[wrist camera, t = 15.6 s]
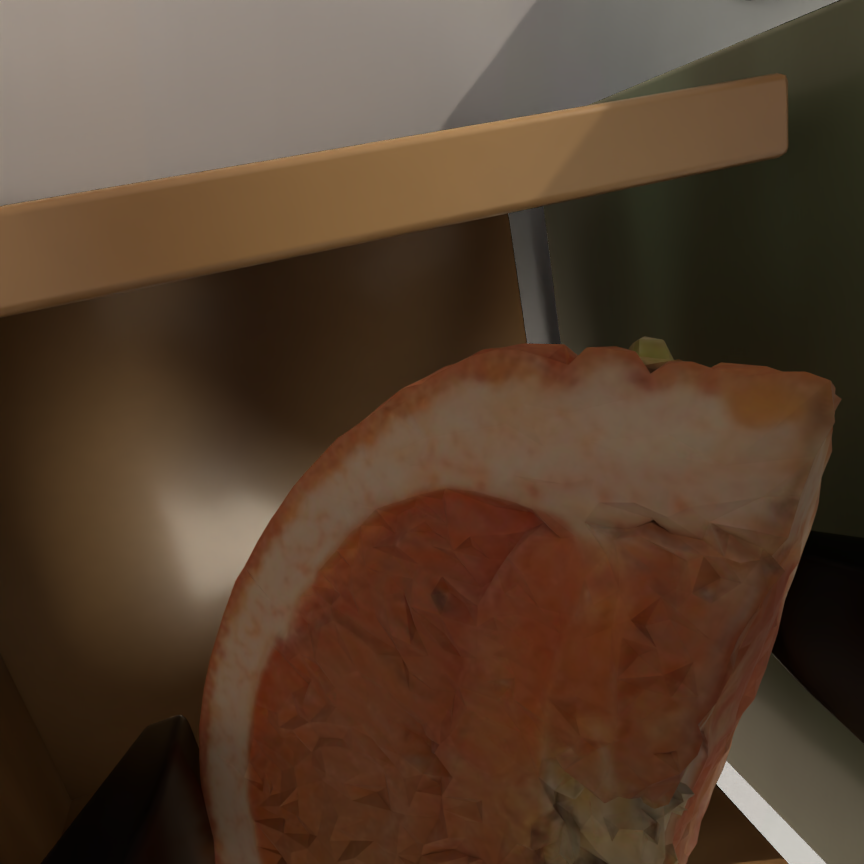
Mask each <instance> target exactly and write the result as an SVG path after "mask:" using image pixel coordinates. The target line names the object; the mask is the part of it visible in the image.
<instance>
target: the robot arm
mask: <svg viewBox="0 0 864 864" xmlns="http://www.w3.org/2000/svg"><path fill="white" fill-rule="evenodd" d="M771 653H772V654H773V655H774V656H775V657H776V659H777V660H778V661H779V662H780V663H781V664H782V665H783V666H784V668H785V669H786V670H787V671H788V672H789V673H790V674H791V675H792V676H793V677H794V678H795V679H796V680H797V681H798V682H799V683H800V684H801V685H802V686H803V687H804V688H805V689H806V690H807V691H808V692H809V693H810V694H811V695H812V696H813V697H814V698H815V699H816V700H817V701H818V702H819V703H820V704H821V705H822V706H823V707H825V708H826V709H827V710H828V711H829V712H830V713H831V714H832V715H833V716H834V717H835V718H836V719H837V720H838V721H839V722H841V723H842V724H843V725H844V726H845V727H846V728H847V729H848V730H849V731H850V732H851V733H852V734H853V735H854V736H855V737H856V738H858V739H859V740H860V741H861V742H862V743H863V744H864V538H862V537H855V536H848V535H841V534H834V533H826V532H819V531H812V530H811V531H810V533H809V536H808V539H807V541H806V544H805V546H804V549H803V552H802V555H801V558H800V561H799V564H798V567H797V570H796V573H795V575H794V578H793V581H792V583H791V586H790V588H789V591H788V593H787V596H786V599H785V602H784V607H783V611H782V616H781V620H780V625H779V629H778V634H777V637H776V639H775V642H774V645H773V648H772V651H771ZM40 864H215V850H214V839H213V835H212V831H211V826H210V822H209V818H208V814H207V810H206V806H205V801H204V797H203V792H202V788H201V780H200V762H199V747H198V744H197V742H196V739H195V737H194V734H193V732H192V729H191V726H190V724H189V722H188V720H187V719H186V718H185V717H184V716H183V715H176V716H173V717H170V718H167V719H164V720H162V721H159V722H156V723H153V724H150V725H148V726H147V727H146V728H145V729H144V730H143V731H142V732H141V734H140V735H139V736H138V738H137V739H136V740H135V742H134V743H133V744H132V745H131V747H130V748H129V749H128V751H127V752H126V753H125V754H124V756H123V757H122V758H121V760H120V761H119V762H118V764H117V765H116V766H115V767H114V769H113V770H112V771H111V773H110V774H109V775H108V777H107V778H106V779H105V780H104V782H103V783H102V784H101V786H100V787H99V788H98V789H97V791H96V792H95V793H94V795H93V796H92V797H91V799H90V800H89V801H88V802H87V804H86V805H85V806H84V808H83V809H82V810H81V812H80V813H79V814H78V815H77V817H76V818H75V819H74V821H73V822H72V823H71V824H70V826H69V827H68V828H67V830H66V831H65V832H64V834H63V835H62V836H61V837H60V839H59V840H58V841H57V843H56V844H55V845H54V847H53V848H52V849H51V850H50V852H49V853H48V854H47V856H46V857H45V858H44V859H43V861H42V862H41V863H40Z"/></svg>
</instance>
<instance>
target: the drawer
mask: <svg viewBox="0 0 864 864" xmlns="http://www.w3.org/2000/svg"><path fill="white" fill-rule="evenodd" d="M541 206H543V207H544V215H545V223H546V231H547V239H548V247H549V254H550V262H551V270H552V278H553V286H554V294H555V302H556V310H557V318H558V325H559V333H560V341H561V344H565V345H566V346H567V347H568V348H570V349H571V350H572V351H573V352H574V353H576V354H577V355H579V354H580V353H581V352H582V351H583V350H584V349H586V348H587V347H611V346H617V347H621V348H624V349H628V350H629V347H630V346H631V345H632V344H633V343H634V342H635V341H637V340H639V339H641V338H642V337H644V336H646V337H651V338H656V339H662V340H664V341H665V343H666V345H667V347H668V349H669V351H670V353H671V355H672V357H673V359H674V360H677V359H680V360H682V361H687V362H695V363H698V364H701V365H704V366H707V367H710V368H711V367H713V366H715V365H717V364H719V363H721V362H722V363H733V364H745V365H757V366H767V367H770V368H773V369H776V370H779V371H782V372H808V373H811V374H814V375H817V376H820V377H822V378H825V379H828V380H831V382H832V383H833V385H834V386H835V388H836V389H835V394H836V395H837V396H838V397H840V398H841V401H840V403H839V405H838V407H837V408H836V410H835V414H834V417H835V423H834V425H833V432H832V453H831V455H830V458H829V460H828V463H827V465H826V467H825V470H824V472H823V475H822V478H821V487H820V495H819V503H818V508H817V511H816V515H815V518H814V521H813V524H812V527H811V530H812V531H819V532H826V533H834V534H841V535H848V536H855V537H862V538H864V0H839V1H837V2H834V3H832V4H829V5H827V6H825V7H822V8H820V9H817V10H815V11H813V12H810V13H808V14H805V15H803V16H801V17H798V18H796V19H794V20H791V21H789V22H786V23H784V24H782V25H779V26H777V27H774V28H772V29H770V30H767V31H765V32H762V33H760V34H758V35H755V36H753V37H750V38H748V39H746V40H743V41H741V42H738V43H736V44H734V45H731V46H729V47H726V48H724V49H722V50H719V51H717V52H714V53H712V54H710V55H707V56H705V57H702V58H700V59H698V60H695V61H693V62H690V63H688V64H686V65H683V66H681V67H678V68H676V69H674V70H671V71H669V72H666V73H664V74H662V75H659V76H657V77H654V78H652V79H650V80H647V81H645V82H642V83H640V84H638V85H635V86H633V87H630V88H628V89H626V90H623V91H621V92H619V93H616V94H614V95H611V96H609V97H607V98H604V99H602V100H599V101H597V102H595V103H592V104H590V105H587V106H582V107H576V108H570V109H564V110H559V111H553V112H547V113H541V114H535V115H529V116H524V117H518V118H512V119H506V120H500V121H494V122H489V123H483V124H477V125H471V126H465V127H459V128H453V129H448V130H442V131H436V132H430V133H424V134H418V135H413V136H407V137H401V138H395V139H389V140H383V141H378V142H372V143H366V144H360V145H354V146H348V147H342V148H337V149H331V150H325V151H319V152H313V153H307V154H302V155H296V156H290V157H284V158H278V159H272V160H267V161H261V162H255V163H249V164H243V165H237V166H232V167H226V168H220V169H214V170H208V171H202V172H196V173H191V174H185V175H179V176H173V177H167V178H161V179H156V180H150V181H144V182H138V183H132V184H126V185H121V186H115V187H109V188H103V189H97V190H91V191H85V192H80V193H74V194H68V195H62V196H56V197H50V198H45V199H39V200H33V201H27V202H21V203H15V204H10V205H4V206H0V864H40V863H41V862H42V861H43V859H44V858H45V857H46V856H47V854H48V853H49V852H50V850H51V849H52V848H53V847H54V845H55V844H56V843H57V841H58V840H59V839H60V837H61V836H62V835H63V834H64V832H65V831H66V830H67V828H68V827H69V826H70V824H71V823H72V822H73V821H74V819H75V818H76V817H77V815H78V814H79V813H80V812H81V810H82V809H83V808H84V806H85V805H86V804H87V802H88V801H89V800H90V799H91V797H92V796H93V795H94V793H95V792H96V791H97V789H98V788H99V787H100V786H101V784H102V783H103V782H104V780H105V779H106V778H107V777H108V775H109V774H110V773H111V771H112V770H113V769H114V767H115V766H116V765H117V764H118V762H119V761H120V760H121V758H122V757H123V756H124V754H125V753H126V752H127V751H128V749H129V748H130V747H131V745H132V744H133V743H134V742H135V740H136V739H137V738H138V736H139V735H140V734H141V732H142V731H143V730H144V729H145V728H146V727H147V726H148V725H150V724H153V723H156V722H159V721H162V720H164V719H167V718H170V717H173V716H176V715H183V716H184V717H185V718H186V719H187V720H188V722H189V724H190V726H191V729H192V732H193V734H194V737H195V739H196V742H197V744H198V747H199V723H200V715H201V707H202V699H203V691H204V685H205V680H206V676H207V671H208V666H209V661H210V657H211V653H212V650H213V647H214V644H215V640H216V637H217V634H218V630H219V627H220V624H221V620H222V617H223V614H224V611H225V608H226V606H227V603H228V600H229V597H230V595H231V592H232V589H233V586H234V584H235V581H236V579H237V577H238V576H239V574H240V573H241V571H242V569H243V568H244V566H245V564H246V562H247V561H248V559H249V557H250V555H251V553H252V551H253V549H254V547H255V545H256V543H257V542H258V540H259V538H260V536H261V535H262V533H263V531H264V530H265V528H266V526H267V525H268V523H269V521H270V520H271V518H272V517H273V515H274V514H275V512H276V511H277V509H278V508H279V506H280V505H281V503H282V502H283V501H284V499H285V498H286V496H287V495H288V493H289V492H290V490H291V489H292V487H293V486H294V485H295V484H296V483H297V481H298V480H299V479H300V478H301V477H302V476H303V474H304V473H305V472H306V471H307V470H308V469H309V468H310V467H311V466H312V465H313V464H314V463H315V461H316V460H317V459H318V458H319V457H320V456H321V455H322V454H323V453H324V452H325V451H326V450H327V449H328V448H329V447H330V446H331V444H332V443H333V442H334V441H335V440H336V439H337V438H338V437H340V436H341V435H343V434H344V433H346V432H347V431H349V430H350V429H352V428H353V427H355V426H356V425H357V424H359V423H360V422H361V421H363V420H364V419H365V418H366V417H367V416H369V415H370V414H371V413H372V412H373V411H375V410H376V409H377V408H378V407H379V406H380V405H382V404H383V403H384V402H385V401H386V400H388V399H389V398H390V397H391V396H393V395H394V394H395V393H397V392H398V391H399V390H401V389H402V388H404V387H406V386H408V385H410V384H412V383H415V382H417V381H419V380H421V379H423V378H425V377H427V376H429V375H431V374H433V373H434V372H436V371H438V370H440V369H441V368H443V367H445V366H448V365H452V364H455V363H458V362H460V361H462V360H464V359H466V358H468V357H469V356H471V355H473V354H475V353H477V352H479V351H481V350H483V349H492V348H503V347H507V346H512V345H517V344H521V343H526V344H527V341H526V334H525V327H524V320H523V313H522V306H521V299H520V292H519V285H518V278H517V271H516V264H515V257H514V250H513V243H512V236H511V229H510V222H509V215H508V213H512V212H517V211H522V210H527V209H532V208H537V207H541ZM726 761H727V762H728V763H729V764H730V765H731V766H732V767H733V768H734V769H735V770H736V771H737V772H738V773H739V774H740V775H741V776H742V777H743V778H744V779H745V780H746V781H747V782H748V783H749V784H750V785H751V786H752V787H753V789H754V790H755V791H756V792H757V793H758V794H759V795H760V796H761V797H762V798H763V799H764V800H765V801H766V802H767V803H768V804H769V805H770V806H771V807H772V808H773V809H774V810H775V811H776V812H777V813H778V814H779V815H780V816H781V817H782V818H783V819H784V820H785V821H786V822H787V823H788V825H789V826H790V827H791V828H792V829H793V830H794V831H795V832H796V833H797V834H798V835H799V836H800V837H801V838H802V839H803V840H804V841H805V842H806V843H807V844H808V845H809V846H810V847H811V848H812V849H813V850H814V851H815V852H816V853H817V854H818V855H819V856H820V857H821V858H822V859H823V861H824V862H825V863H826V864H864V744H863V743H862V742H861V741H860V740H859V739H858V738H856V737H855V736H854V735H853V734H852V733H851V732H850V731H849V730H848V729H847V728H846V727H845V726H844V725H843V724H842V723H841V722H839V721H838V720H837V719H836V718H835V717H834V716H833V715H832V714H831V713H830V712H829V711H828V710H827V709H826V708H825V707H823V706H822V705H821V704H820V703H819V702H818V701H817V700H816V699H815V698H814V697H813V696H812V695H811V694H810V693H809V692H808V691H807V690H806V689H805V688H804V687H803V686H802V685H801V684H800V683H799V682H798V681H797V680H796V679H795V678H794V677H793V676H792V675H791V674H790V673H789V672H788V671H787V670H786V669H785V668H784V666H783V665H782V664H781V663H780V662H779V661H778V660H777V659H776V657H775V656H774V655H773V654H772V653H771V654H770V657H769V661H768V664H767V668H766V670H765V673H764V675H763V678H762V680H761V683H760V685H759V688H758V691H757V694H756V696H755V699H754V700H753V702H752V703H751V704H750V705H749V707H748V708H747V709H746V710H745V711H744V713H743V714H742V716H741V718H740V720H739V722H738V725H737V727H736V729H735V732H734V735H733V738H732V744H731V748H730V751H729V754H728V756H727V759H726ZM686 864H788V862H787V861H786V860H785V859H784V858H783V857H782V856H781V855H780V854H779V853H778V852H777V850H776V849H775V848H774V847H773V846H772V845H771V844H770V843H769V842H768V841H767V839H766V838H765V837H764V836H763V835H762V834H761V833H760V832H759V831H758V830H757V828H756V827H755V826H754V825H753V824H752V823H751V822H750V821H749V820H748V819H747V817H746V816H745V815H744V814H743V813H742V812H741V811H740V810H739V809H738V808H737V806H736V805H735V804H734V803H733V802H732V801H731V800H730V799H729V798H728V797H727V795H726V794H725V793H724V792H723V791H722V790H721V789H720V788H719V787H718V786H717V784H716V785H715V787H714V789H713V792H712V795H711V798H710V802H709V805H708V808H707V810H706V812H705V814H704V816H703V818H702V820H701V824H700V830H699V835H698V840H697V844H696V846H695V847H694V849H693V850H692V852H691V853H690V855H689V857H688V860H687V863H686Z"/></svg>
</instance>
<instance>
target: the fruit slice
mask: <svg viewBox="0 0 864 864" xmlns="http://www.w3.org/2000/svg"><path fill="white" fill-rule="evenodd" d="M835 389H836V388H835V386H834V385H833V383H832V382H831V380H828V379H825V378H822V377H820V376H817V375H814V374H811V373H808V372H782V371H779V370H776V369H773V368H770V367H767V366H757V365H745V364H733V363H722V362H721V363H719V364H717V365H715V366H713V367H711V368H710V367H707V366H704V365H701V364H698V363H695V362H687V361H682V360H680V359H677V360H674V359H673V357H672V355H671V353H670V351H669V349H668V347H667V345H666V343H665V341H664V340H662V339H656V338H651V337H646V336H644V337H642V338H641V339H639V340H637V341H635V342H634V343H633V344H632V345H631V346H630V347H629V350H628V349H624V348H621V347H617V346H611V347H587V348H586V349H584V350H583V351H582V352H581V353H580V354H579V355H577V354H576V353H574V352H573V351H572V350H571V349H570V348H568V347H567V346H566V345H565V344H526V343H521V344H517V345H512V346H507V347H503V348H492V349H483V350H481V351H479V352H477V353H475V354H473V355H471V356H469V357H468V358H466V359H464V360H462V361H460V362H458V363H455V364H452V365H448V366H445V367H443V368H441V369H440V370H438V371H436V372H434V373H433V374H431V375H429V376H427V377H425V378H423V379H421V380H419V381H417V382H415V383H412V384H410V385H408V386H406V387H404V388H402V389H401V390H399V391H398V392H397V393H395V394H394V395H393V396H391V397H390V398H389V399H388V400H386V401H385V402H384V403H383V404H382V405H380V406H379V407H378V408H377V409H376V410H375V411H373V412H372V413H371V414H370V415H369V416H367V417H366V418H365V419H364V420H363V421H361V422H360V423H359V424H357V425H356V426H355V427H353V428H352V429H350V430H349V431H347V432H346V433H344V434H343V435H341V436H340V437H338V438H337V439H336V440H335V441H334V442H333V443H332V444H331V446H330V447H329V448H328V449H327V450H326V451H325V452H324V453H323V454H322V455H321V456H320V457H319V458H318V459H317V460H316V461H315V463H314V464H313V465H312V466H311V467H310V468H309V469H308V470H307V471H306V472H305V473H304V474H303V476H302V477H301V478H300V479H299V480H298V481H297V483H296V484H295V485H294V486H293V487H292V489H291V490H290V492H289V493H288V495H287V496H286V498H285V499H284V501H283V502H282V503H281V505H280V506H279V508H278V509H277V511H276V512H275V514H274V515H273V517H272V518H271V520H270V521H269V523H268V525H267V526H266V528H265V530H264V531H263V533H262V535H261V536H260V538H259V540H258V542H257V543H256V545H255V547H254V549H253V551H252V553H251V555H250V557H249V559H248V561H247V562H246V564H245V566H244V568H243V569H242V571H241V573H240V574H239V576H238V577H237V579H236V581H235V584H234V586H233V589H232V592H231V595H230V597H229V600H228V603H227V606H226V608H225V611H224V614H223V617H222V620H221V624H220V627H219V630H218V634H217V637H216V640H215V644H214V647H213V650H212V653H211V657H210V661H209V666H208V671H207V676H206V680H205V685H204V691H203V699H202V707H201V715H200V723H199V762H200V780H201V788H202V792H203V797H204V801H205V806H206V810H207V814H208V818H209V822H210V826H211V831H212V835H213V839H214V850H215V864H686V863H687V860H688V857H689V855H690V853H691V852H692V850H693V849H694V847H695V846H696V844H697V840H698V835H699V830H700V824H701V820H702V818H703V816H704V814H705V812H706V810H707V808H708V805H709V802H710V798H711V795H712V792H713V789H714V787H715V785H716V783H717V781H718V779H719V777H720V774H721V772H722V770H723V768H724V765H725V762H726V759H727V756H728V754H729V751H730V748H731V744H732V738H733V735H734V732H735V729H736V727H737V725H738V722H739V720H740V718H741V716H742V714H743V713H744V711H745V710H746V709H747V708H748V707H749V705H750V704H751V703H752V702H753V700H754V699H755V696H756V694H757V691H758V688H759V685H760V683H761V680H762V678H763V675H764V673H765V670H766V668H767V664H768V661H769V657H770V654H771V651H772V648H773V645H774V642H775V639H776V637H777V634H778V629H779V625H780V620H781V616H782V611H783V607H784V602H785V599H786V596H787V593H788V591H789V588H790V586H791V583H792V581H793V578H794V575H795V573H796V570H797V567H798V564H799V561H800V558H801V555H802V552H803V549H804V546H805V544H806V541H807V539H808V536H809V533H810V531H811V527H812V524H813V521H814V518H815V515H816V511H817V508H818V503H819V495H820V487H821V478H822V475H823V472H824V470H825V467H826V465H827V463H828V460H829V458H830V455H831V453H832V432H833V425H834V423H835V417H834V414H835V410H836V408H837V407H838V405H839V403H840V401H841V398H840V397H838V396H837V395H836V394H835Z"/></svg>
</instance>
